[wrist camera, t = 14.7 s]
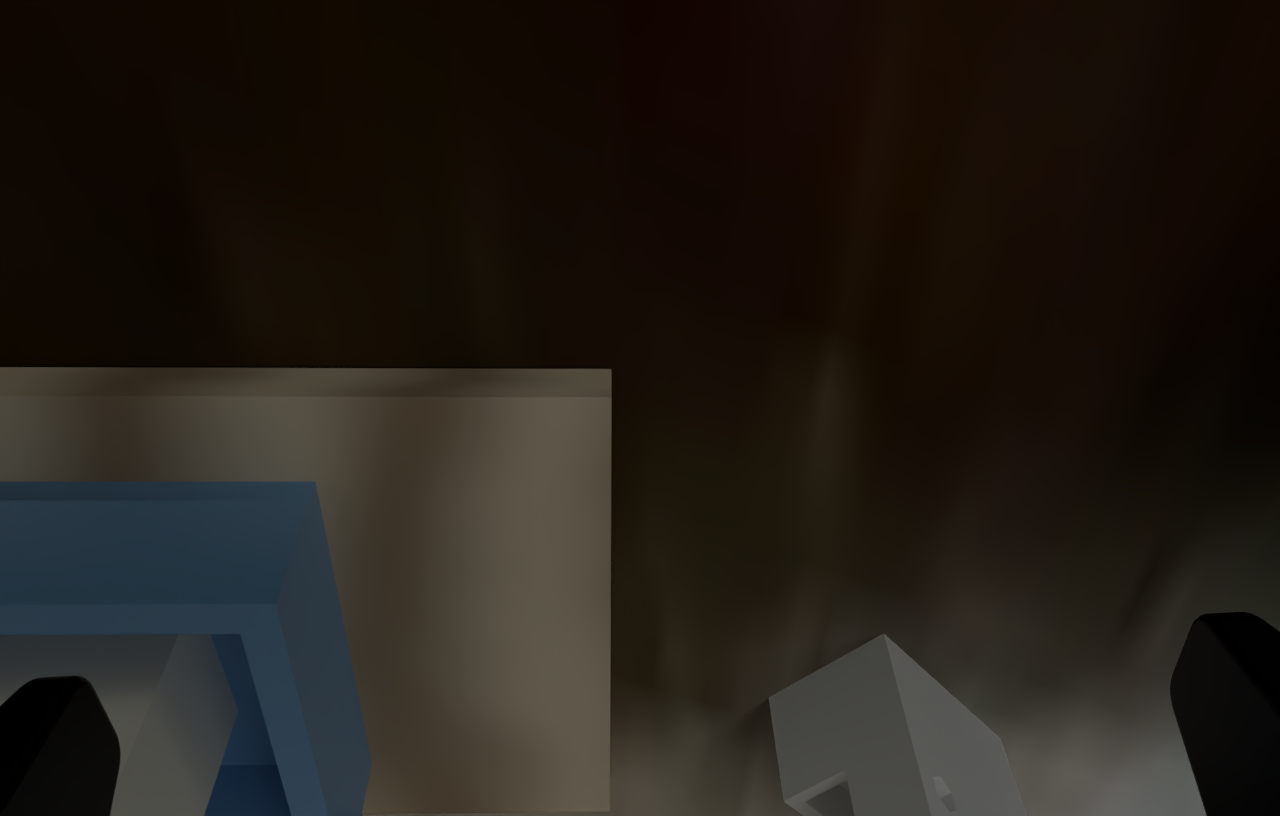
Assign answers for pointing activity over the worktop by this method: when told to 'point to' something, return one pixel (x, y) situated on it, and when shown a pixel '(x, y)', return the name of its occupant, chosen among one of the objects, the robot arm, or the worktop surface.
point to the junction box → (207, 615)
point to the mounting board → (401, 545)
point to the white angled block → (886, 743)
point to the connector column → (143, 708)
